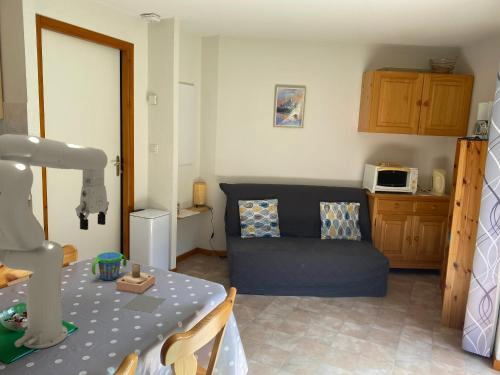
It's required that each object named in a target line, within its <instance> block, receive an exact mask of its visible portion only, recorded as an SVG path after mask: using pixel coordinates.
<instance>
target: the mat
mask: <svg viewBox="0 0 500 375" xmlns="http://www.w3.org/2000/svg"><path fill="white" fill-rule="evenodd" d="M166 300H167V298H162V297H157V296H150V295H146V294H145V295H144V294H136V296H135V297H133V298H132V299H131V300H129V302H127V303H126V304H124V305H123V306H122V309H128V310H133V311H139V312H145V313H149V314H152V313H153V312H154V311H155V310H157V309H158V308H159V306H160V305H162V304H163V303H164V302H165V301H166Z"/></svg>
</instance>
